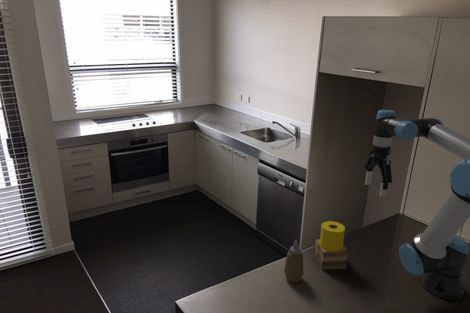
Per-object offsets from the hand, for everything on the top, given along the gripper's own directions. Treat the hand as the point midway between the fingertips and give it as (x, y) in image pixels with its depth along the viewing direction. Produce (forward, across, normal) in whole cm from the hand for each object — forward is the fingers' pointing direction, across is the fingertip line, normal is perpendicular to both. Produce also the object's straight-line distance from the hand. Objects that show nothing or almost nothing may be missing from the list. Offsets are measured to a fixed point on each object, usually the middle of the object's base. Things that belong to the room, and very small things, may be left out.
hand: (375, 189), depth 165 cm
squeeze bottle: (+32, -18, +42) cm, 56 cm away
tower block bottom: (+32, -8, +22) cm, 39 cm away
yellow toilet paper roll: (+23, -8, +22) cm, 33 cm away
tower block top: (+27, -8, +22) cm, 36 cm away
